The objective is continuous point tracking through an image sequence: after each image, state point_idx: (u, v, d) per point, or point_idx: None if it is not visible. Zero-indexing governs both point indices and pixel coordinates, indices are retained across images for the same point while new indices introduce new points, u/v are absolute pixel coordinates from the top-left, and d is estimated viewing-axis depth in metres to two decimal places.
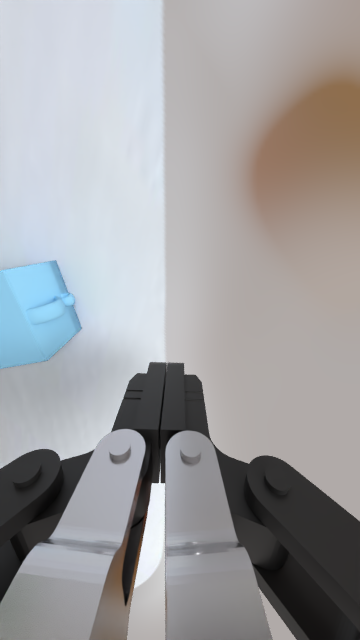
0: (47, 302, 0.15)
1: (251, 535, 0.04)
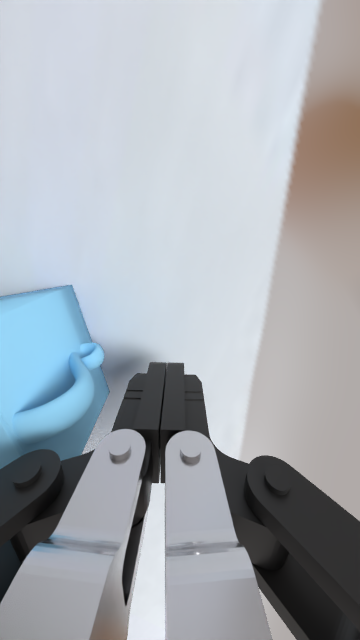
0: (58, 373, 0.08)
1: (251, 535, 0.04)
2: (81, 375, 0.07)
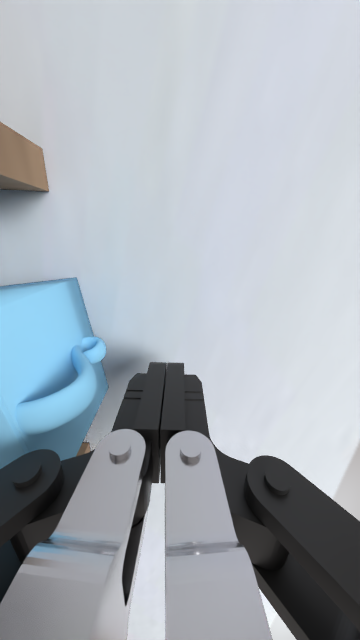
0: (60, 365, 0.08)
1: (251, 535, 0.04)
2: (85, 368, 0.07)
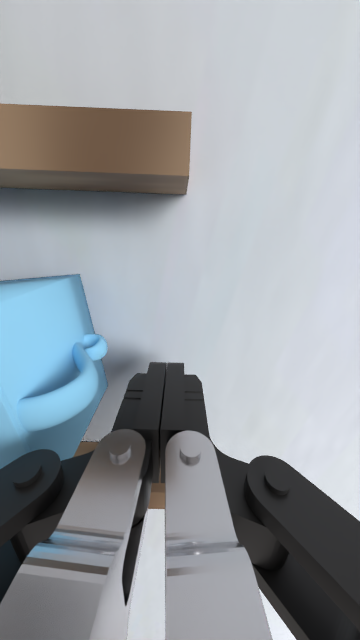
0: (61, 362, 0.08)
1: (251, 535, 0.04)
2: (87, 365, 0.07)
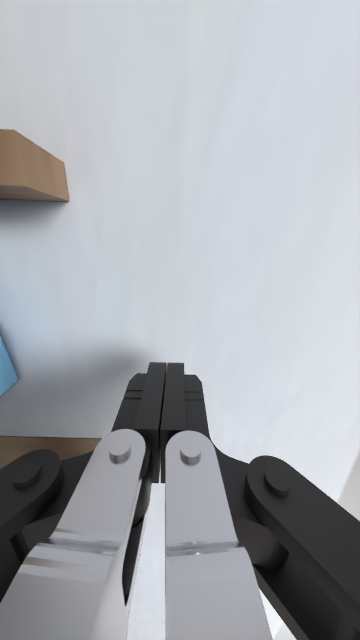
0: None
1: (251, 535, 0.04)
2: None
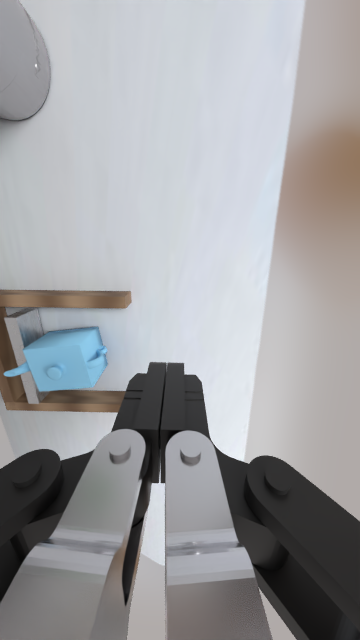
0: (94, 354, 0.28)
1: (251, 535, 0.04)
2: (101, 354, 0.27)
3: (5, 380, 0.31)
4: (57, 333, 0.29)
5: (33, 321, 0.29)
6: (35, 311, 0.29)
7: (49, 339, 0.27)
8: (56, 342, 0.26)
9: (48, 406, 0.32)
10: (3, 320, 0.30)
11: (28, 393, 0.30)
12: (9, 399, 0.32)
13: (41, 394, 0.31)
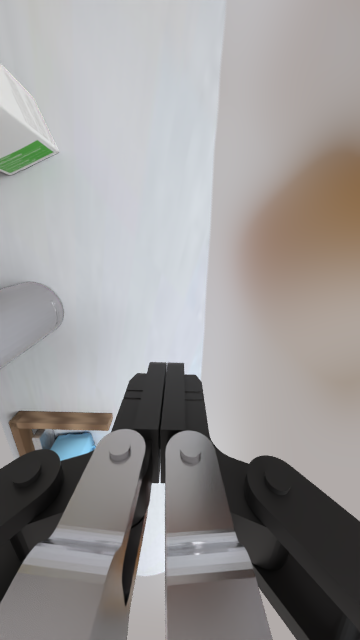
0: None
1: (251, 535, 0.04)
2: None
3: None
4: (64, 439, 0.45)
5: (48, 432, 0.45)
6: None
7: (59, 448, 0.43)
8: (64, 452, 0.42)
9: None
10: (28, 429, 0.46)
11: None
12: None
13: None
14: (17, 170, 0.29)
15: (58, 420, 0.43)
